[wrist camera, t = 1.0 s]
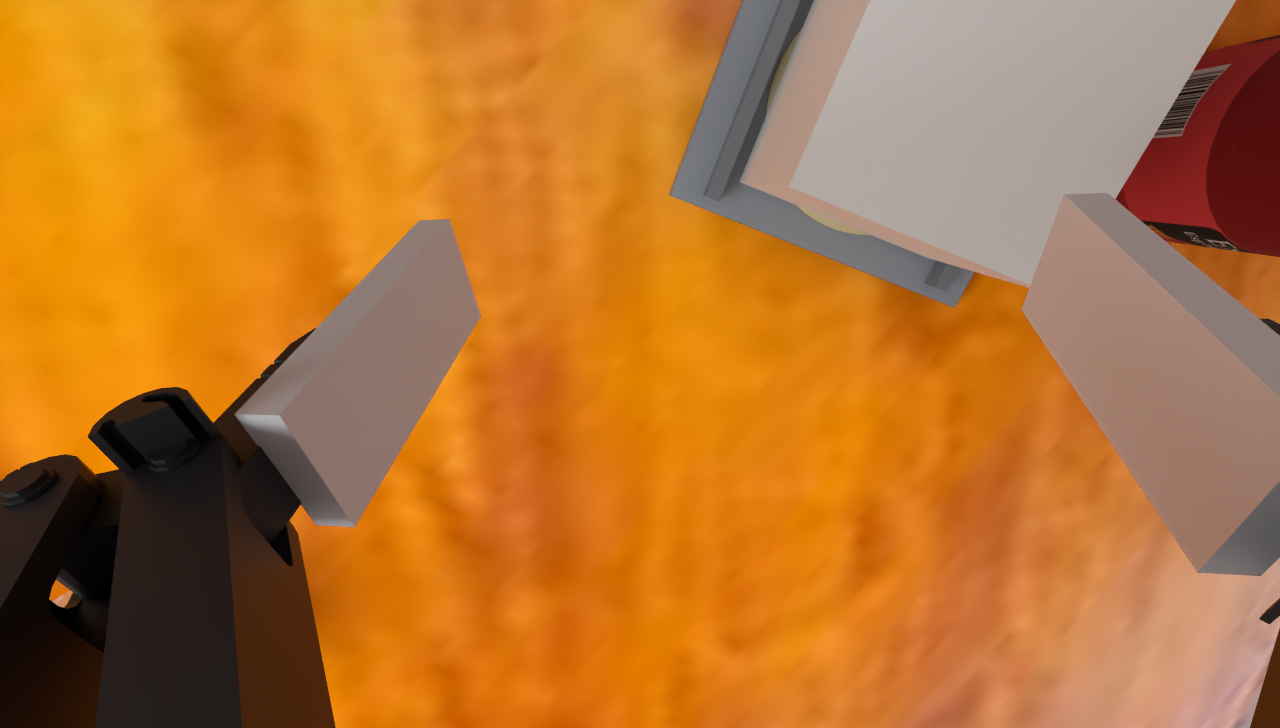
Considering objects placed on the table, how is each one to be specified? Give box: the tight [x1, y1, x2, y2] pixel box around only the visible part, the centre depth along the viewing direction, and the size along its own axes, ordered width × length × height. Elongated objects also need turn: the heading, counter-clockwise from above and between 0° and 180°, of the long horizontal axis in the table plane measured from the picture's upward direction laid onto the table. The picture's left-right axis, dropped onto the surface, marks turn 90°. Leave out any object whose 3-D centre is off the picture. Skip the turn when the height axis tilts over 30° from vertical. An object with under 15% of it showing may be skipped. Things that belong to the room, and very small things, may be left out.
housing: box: [739, 0, 1236, 288], centre depth 20 cm, size 9×9×8 cm
